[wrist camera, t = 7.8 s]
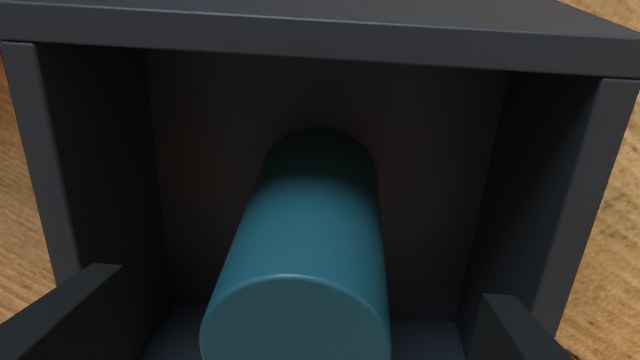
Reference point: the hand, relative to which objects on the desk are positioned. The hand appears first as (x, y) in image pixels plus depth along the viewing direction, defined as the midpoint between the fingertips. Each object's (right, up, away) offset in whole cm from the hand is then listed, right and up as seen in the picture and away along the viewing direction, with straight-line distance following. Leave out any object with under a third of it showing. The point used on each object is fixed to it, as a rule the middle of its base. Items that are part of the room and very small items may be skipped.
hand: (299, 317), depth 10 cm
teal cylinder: (0, +3, +5) cm, 6 cm away
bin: (0, +3, +6) cm, 7 cm away
